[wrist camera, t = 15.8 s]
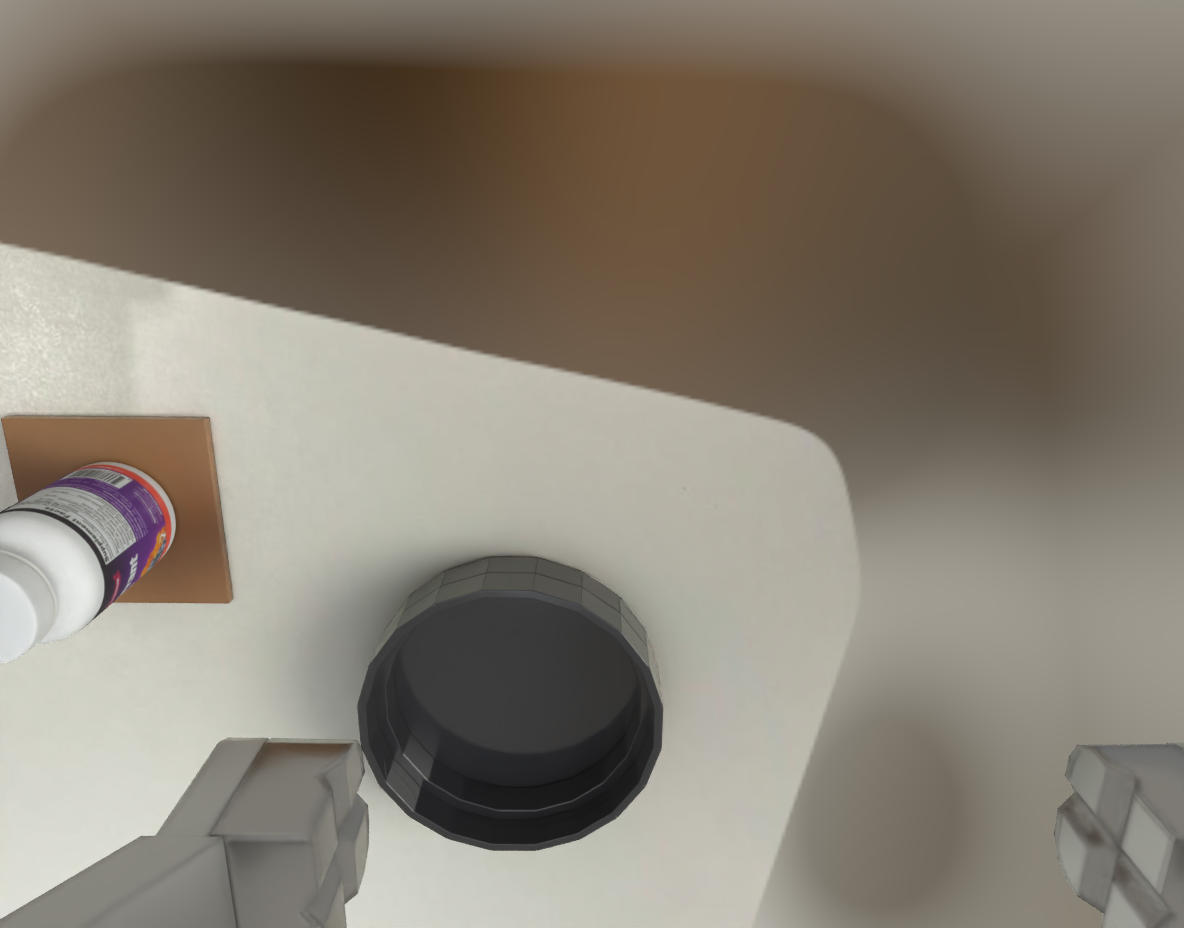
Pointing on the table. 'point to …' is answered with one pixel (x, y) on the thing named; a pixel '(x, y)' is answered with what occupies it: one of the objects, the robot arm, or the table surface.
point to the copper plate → (166, 455)
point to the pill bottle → (77, 551)
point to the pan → (512, 705)
